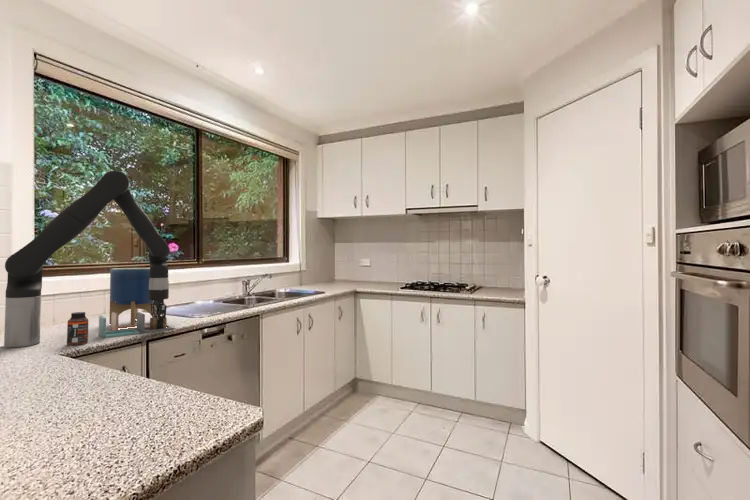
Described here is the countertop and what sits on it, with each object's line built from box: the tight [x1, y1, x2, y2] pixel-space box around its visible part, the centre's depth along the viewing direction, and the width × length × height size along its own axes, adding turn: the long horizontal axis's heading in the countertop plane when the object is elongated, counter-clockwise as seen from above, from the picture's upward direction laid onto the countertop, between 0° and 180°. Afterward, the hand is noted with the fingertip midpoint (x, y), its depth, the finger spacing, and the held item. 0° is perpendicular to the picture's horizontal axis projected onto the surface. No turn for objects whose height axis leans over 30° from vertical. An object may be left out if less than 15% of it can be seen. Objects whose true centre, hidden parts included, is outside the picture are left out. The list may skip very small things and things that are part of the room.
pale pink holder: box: [110, 311, 150, 331], centre depth 159 cm, size 12×9×8 cm
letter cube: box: [149, 317, 168, 330], centre depth 158 cm, size 5×5×5 cm
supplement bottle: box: [66, 311, 89, 346], centre depth 133 cm, size 6×6×11 cm
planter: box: [108, 267, 154, 325], centre depth 174 cm, size 19×19×26 cm
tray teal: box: [98, 315, 140, 340], centre depth 148 cm, size 12×9×8 cm
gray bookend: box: [136, 311, 175, 334], centre depth 157 cm, size 12×9×8 cm
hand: (158, 327), depth 158 cm, fingers closed on letter cube, 5 cm apart
